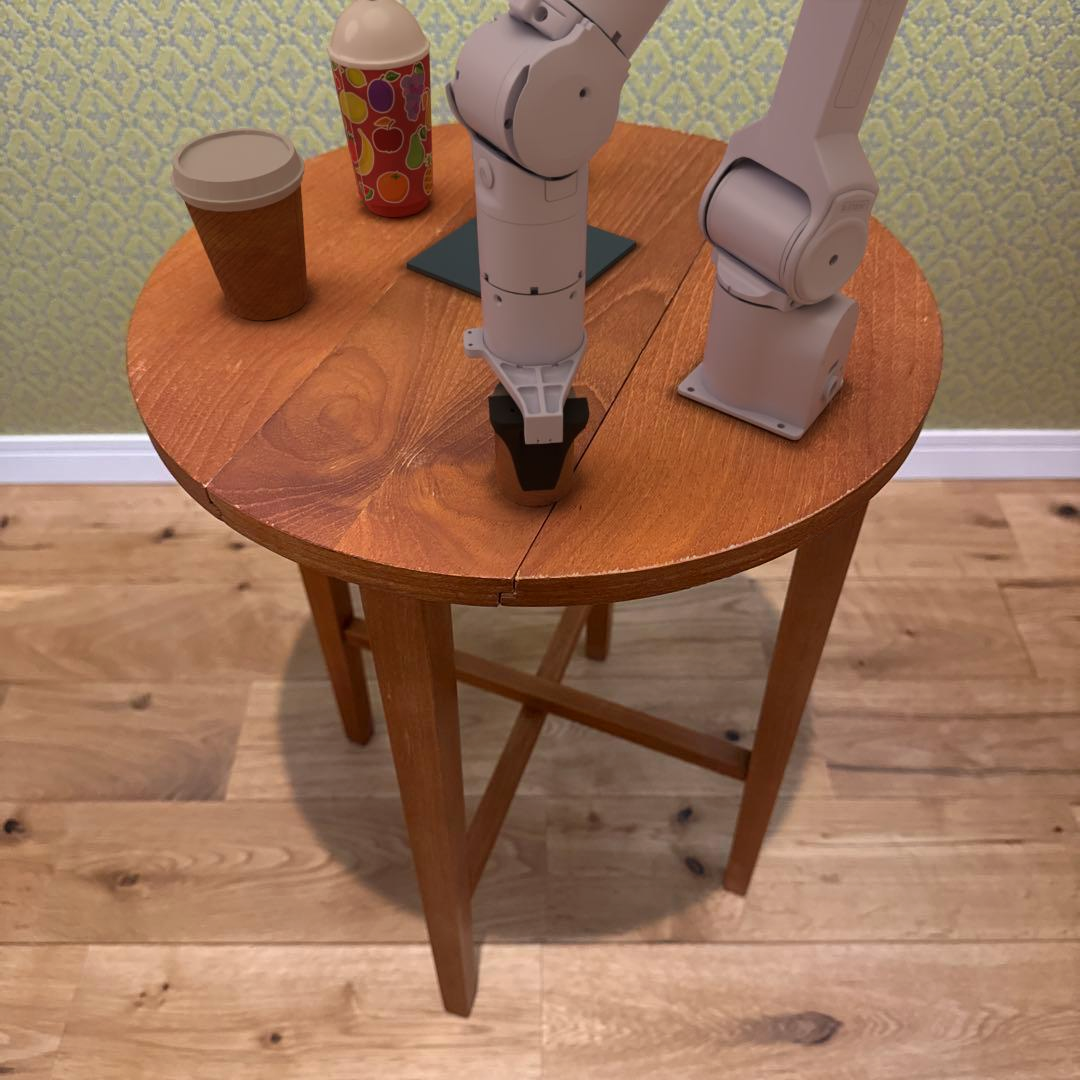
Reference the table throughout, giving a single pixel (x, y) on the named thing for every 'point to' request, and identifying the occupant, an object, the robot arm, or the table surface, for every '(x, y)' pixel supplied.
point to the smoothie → (385, 104)
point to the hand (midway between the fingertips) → (534, 456)
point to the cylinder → (508, 476)
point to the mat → (460, 256)
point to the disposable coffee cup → (248, 216)
